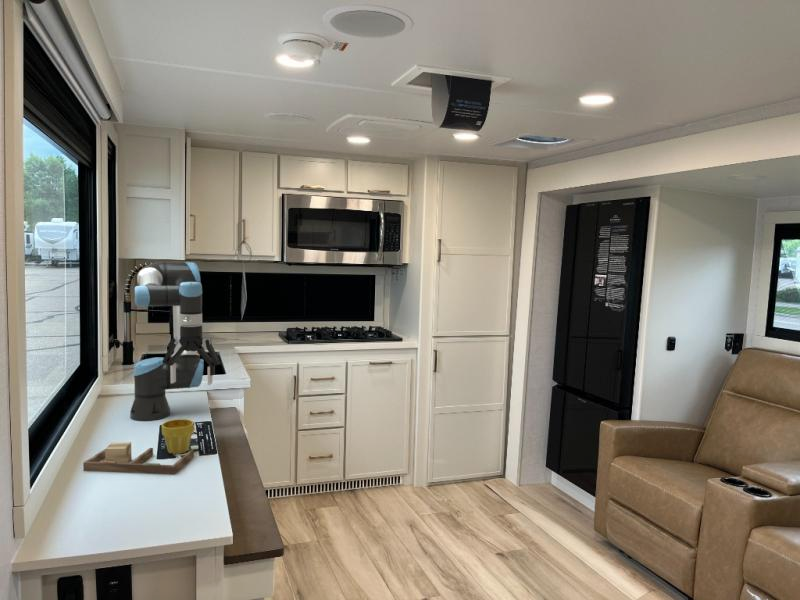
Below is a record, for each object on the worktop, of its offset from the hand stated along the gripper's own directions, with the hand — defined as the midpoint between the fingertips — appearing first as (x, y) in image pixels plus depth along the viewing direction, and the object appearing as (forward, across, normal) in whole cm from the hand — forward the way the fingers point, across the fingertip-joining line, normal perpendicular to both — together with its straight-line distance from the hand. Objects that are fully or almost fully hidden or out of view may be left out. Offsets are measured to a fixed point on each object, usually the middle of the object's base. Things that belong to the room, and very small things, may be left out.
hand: (191, 383), depth 212 cm
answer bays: (+20, -6, -25) cm, 33 cm away
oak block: (+21, -14, -26) cm, 36 cm away
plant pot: (+21, 0, -12) cm, 24 cm away
